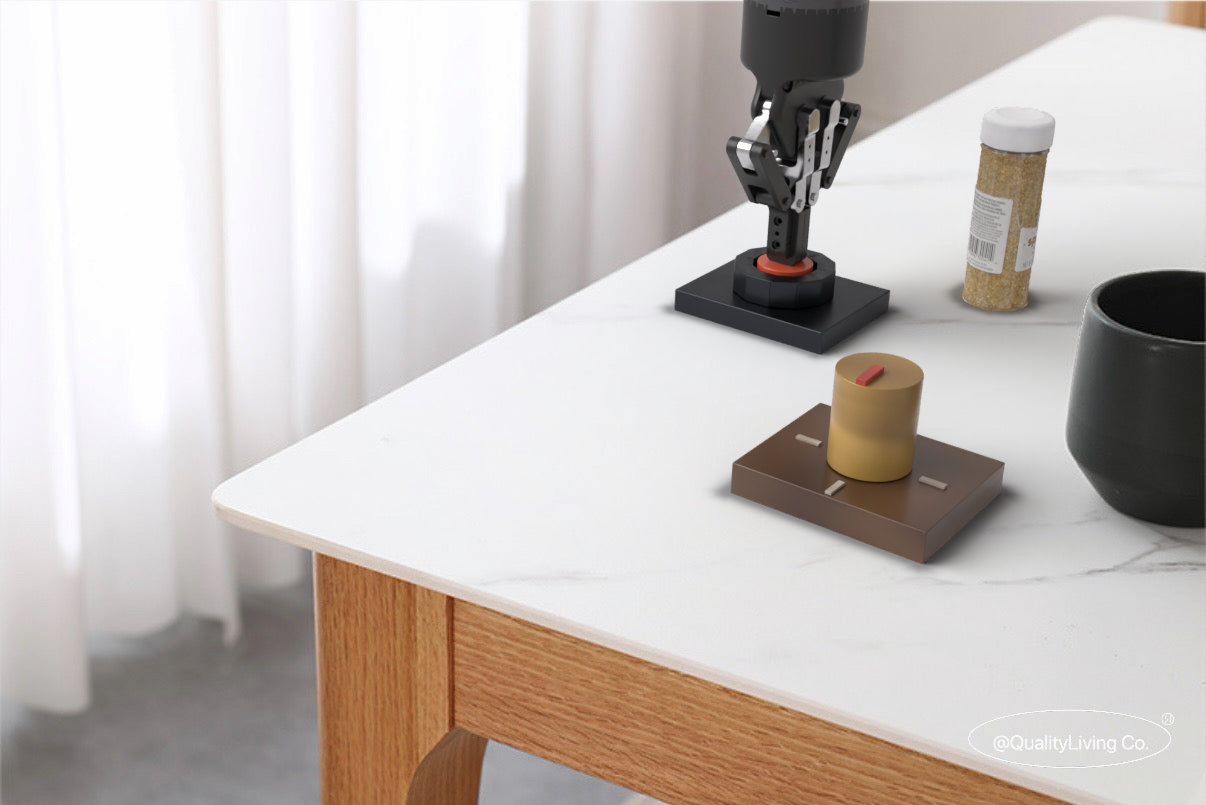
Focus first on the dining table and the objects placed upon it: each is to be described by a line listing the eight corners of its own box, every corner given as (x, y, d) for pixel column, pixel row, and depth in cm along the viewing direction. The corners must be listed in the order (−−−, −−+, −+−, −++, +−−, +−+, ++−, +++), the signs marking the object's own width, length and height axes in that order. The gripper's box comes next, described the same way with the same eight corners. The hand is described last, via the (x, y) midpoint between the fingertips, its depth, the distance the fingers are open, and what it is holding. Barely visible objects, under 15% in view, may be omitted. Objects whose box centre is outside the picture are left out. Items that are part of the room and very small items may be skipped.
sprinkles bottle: (1039, 318, 104) (1069, 121, 98) (976, 323, 103) (1003, 125, 97) (1007, 293, 108) (1035, 102, 102) (946, 297, 107) (971, 105, 101)
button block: (887, 320, 104) (893, 264, 102) (819, 365, 97) (824, 305, 95) (746, 280, 109) (750, 226, 108) (673, 320, 103) (675, 263, 101)
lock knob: (850, 433, 83) (859, 339, 81) (926, 457, 81) (939, 361, 79) (811, 465, 80) (820, 368, 78) (890, 491, 78) (901, 391, 75)
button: (821, 285, 102) (823, 260, 102) (793, 301, 100) (795, 275, 99) (774, 272, 104) (776, 247, 104) (745, 287, 102) (746, 262, 101)
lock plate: (999, 504, 82) (1006, 459, 81) (921, 577, 76) (927, 529, 74) (816, 441, 88) (820, 399, 87) (729, 504, 81) (732, 459, 80)
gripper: (808, -35, 101) (789, 220, 108) (692, -2, 91) (680, 276, 99) (914, -18, 97) (886, 246, 104) (804, 18, 87) (782, 306, 95)
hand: (785, 260), depth 102 cm, fingers closed
